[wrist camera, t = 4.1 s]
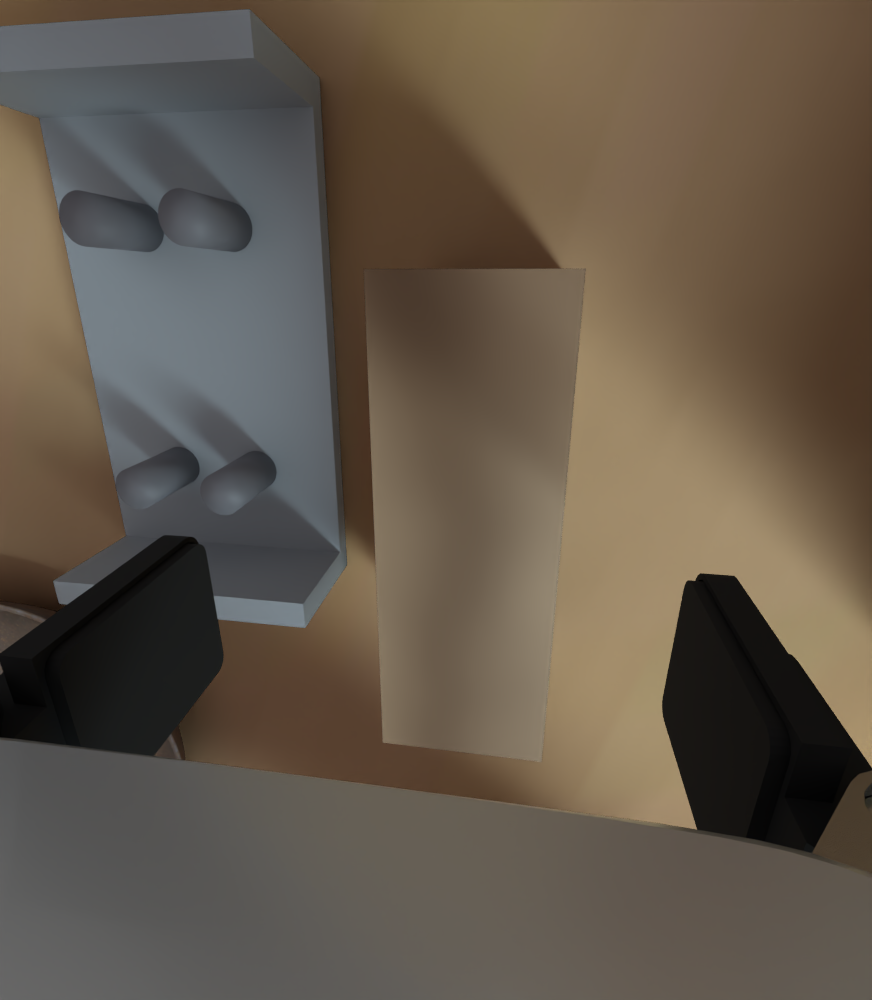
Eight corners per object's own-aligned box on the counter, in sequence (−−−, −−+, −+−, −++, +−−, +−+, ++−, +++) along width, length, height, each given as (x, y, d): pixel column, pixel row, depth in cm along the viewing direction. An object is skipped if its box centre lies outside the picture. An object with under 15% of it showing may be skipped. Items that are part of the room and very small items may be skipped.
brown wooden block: (565, 275, 20) (585, 268, 12) (538, 619, 25) (541, 762, 17) (424, 275, 20) (363, 268, 13) (425, 609, 25) (382, 742, 18)
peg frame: (319, 77, 19) (249, 9, 14) (347, 564, 25) (305, 627, 20) (50, 91, 20) (-94, 32, 15) (141, 548, 26) (59, 603, 22)
